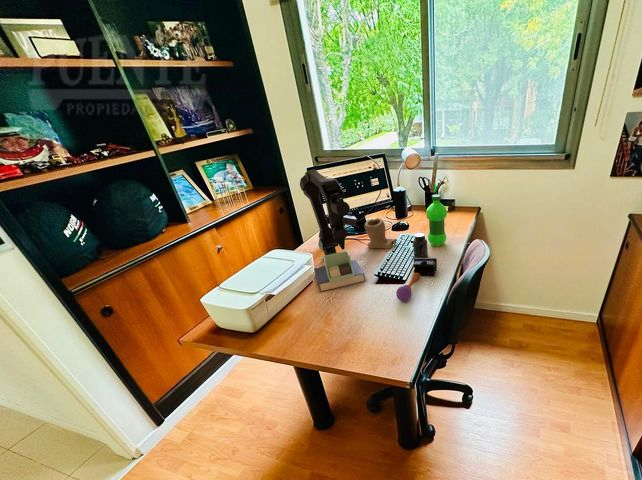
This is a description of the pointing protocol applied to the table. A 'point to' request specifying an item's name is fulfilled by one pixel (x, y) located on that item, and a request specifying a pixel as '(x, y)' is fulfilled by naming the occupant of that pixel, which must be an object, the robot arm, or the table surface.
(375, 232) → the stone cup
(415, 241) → the supplement bottle
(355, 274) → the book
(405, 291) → the kendama
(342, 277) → the green arch-shaped block
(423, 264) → the end cap
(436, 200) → the plastic bottle
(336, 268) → the cream block
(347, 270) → the walnut block
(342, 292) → the table surface
